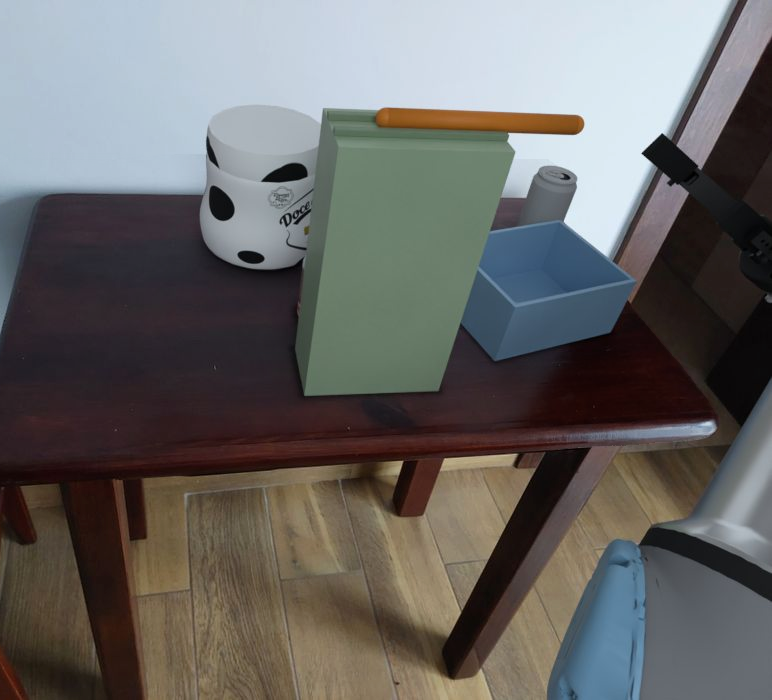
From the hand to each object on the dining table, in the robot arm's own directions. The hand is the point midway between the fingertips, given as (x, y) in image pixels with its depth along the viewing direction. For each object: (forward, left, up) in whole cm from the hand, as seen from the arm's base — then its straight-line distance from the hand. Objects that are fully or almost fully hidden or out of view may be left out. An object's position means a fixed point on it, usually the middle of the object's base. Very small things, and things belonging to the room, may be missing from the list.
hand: (688, 175), depth 66 cm
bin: (+13, +1, -27) cm, 30 cm away
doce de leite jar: (+37, +30, -27) cm, 55 cm away
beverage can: (+27, -12, -27) cm, 40 cm away
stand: (+9, +27, -27) cm, 39 cm away
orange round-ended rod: (+8, +21, +3) cm, 22 cm away
